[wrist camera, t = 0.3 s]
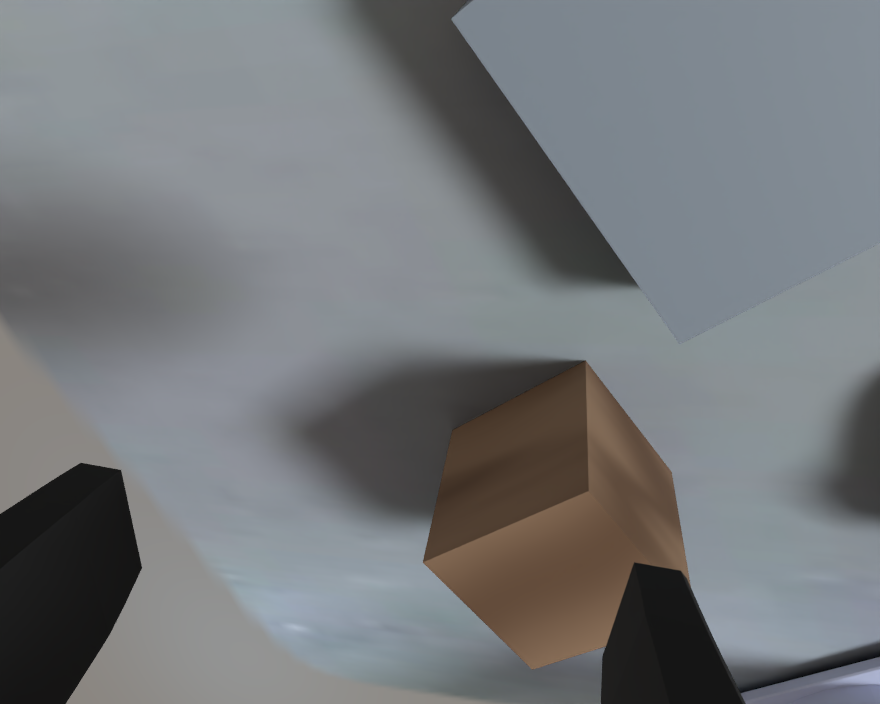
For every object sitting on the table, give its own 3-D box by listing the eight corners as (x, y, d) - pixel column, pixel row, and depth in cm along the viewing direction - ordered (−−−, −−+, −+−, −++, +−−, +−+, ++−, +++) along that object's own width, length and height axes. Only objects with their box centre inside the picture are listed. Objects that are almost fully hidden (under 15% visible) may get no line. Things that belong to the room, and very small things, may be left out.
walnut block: (671, 470, 21) (695, 618, 16) (540, 525, 23) (532, 669, 18) (585, 359, 19) (588, 491, 15) (452, 429, 21) (422, 562, 17)
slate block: (1028, 79, 14) (1125, 119, 12) (664, 280, 18) (679, 344, 15) (863, -338, 12) (943, -398, 9) (470, -3, 15) (451, 18, 13)
